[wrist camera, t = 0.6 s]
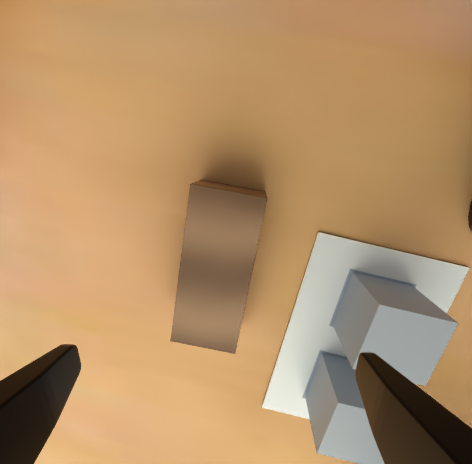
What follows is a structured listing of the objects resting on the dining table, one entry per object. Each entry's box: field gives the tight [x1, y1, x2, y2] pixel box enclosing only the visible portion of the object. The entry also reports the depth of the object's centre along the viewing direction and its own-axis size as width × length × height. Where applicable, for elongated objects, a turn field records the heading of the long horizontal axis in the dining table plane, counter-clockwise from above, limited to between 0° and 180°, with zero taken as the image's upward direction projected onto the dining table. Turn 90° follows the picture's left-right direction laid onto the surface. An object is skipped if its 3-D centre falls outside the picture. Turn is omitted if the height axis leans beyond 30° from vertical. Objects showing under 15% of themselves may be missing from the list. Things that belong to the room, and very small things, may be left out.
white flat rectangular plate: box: [262, 232, 470, 419], centre depth 23 cm, size 18×12×1 cm, turn 167°
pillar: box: [305, 353, 384, 464], centre depth 22 cm, size 5×5×5 cm
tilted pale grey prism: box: [332, 272, 458, 386], centre depth 20 cm, size 5×5×5 cm
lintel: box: [171, 180, 267, 354], centre depth 21 cm, size 12×5×4 cm, turn 170°
